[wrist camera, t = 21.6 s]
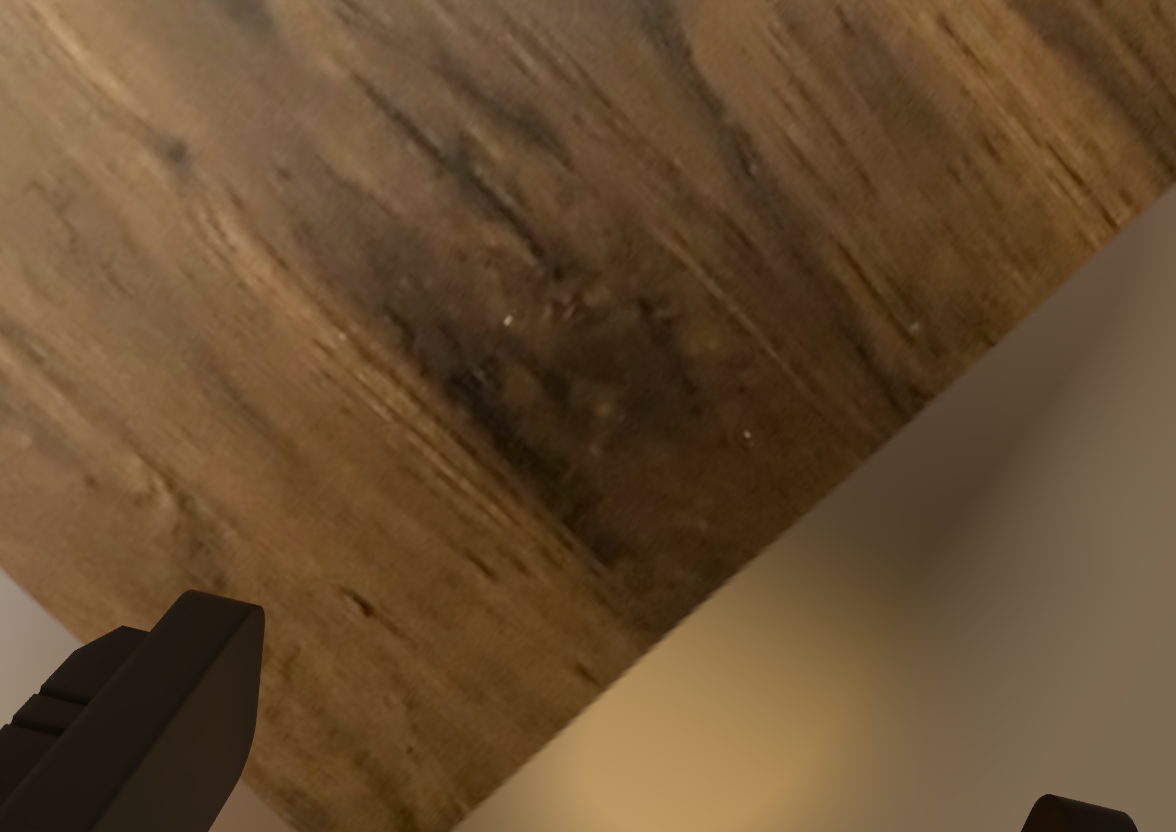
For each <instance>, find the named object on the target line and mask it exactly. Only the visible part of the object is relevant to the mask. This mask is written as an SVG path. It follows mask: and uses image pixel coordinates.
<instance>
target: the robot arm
mask: <svg viewBox="0 0 1176 832" xmlns="http://www.w3.org/2000/svg"><path fill="white" fill-rule="evenodd" d="M264 628H265V615H264V610H263V608H262V607H261V606H259V605H255V604H251V603H246V602H242V601H238V600H234V599H230V598H226V597H222V596H217V595H213V594H209V593H205V592H201V591H197V590H191V589H190V590H188V591H186V592H184V593H183V594H182V595H181V596H180V597H179V598H178V599H177V601H176V602H175V603H174V604H173V605H172V606H171V608H170V609H169V610H168V611H167V612H166V614H165V615H164V616H163V617H162V618H161V619H160V621H159V622H158V623H157V624H156V625H155V626H154V628H153V629H152V630H151V631H150V632H147V631H143V630H139V629H135V628H131V627H127V626H121V627H119V628H117V629H115V630H113V631H111V632H109V633H107V634H106V635H104V636H102V637H100V638H98V639H96V640H94V641H92V642H90V643H89V644H87V645H85V646H83V647H81V648H79V649H77V650H75V651H74V652H73V653H72V654H71V655H70V656H69V657H68V658H67V659H66V661H65V662H64V663H63V664H62V665H61V666H60V667H59V668H58V669H57V670H56V671H55V672H54V673H53V674H52V675H51V676H50V677H49V678H48V680H47V681H46V682H45V683H44V684H43V685H42V686H41V690H40V692H39V694H34V695H32V697H31V698H30V699H29V700H28V701H27V702H26V703H25V704H24V705H23V706H22V707H21V708H20V709H19V710H18V711H17V713H16V714H15V715H14V716H13V720H12V722H11V724H10V725H9V724H6V725H4V726H3V727H2V729H1V730H0V832H208V831H209V829H210V827H211V826H212V824H213V822H214V821H215V819H216V817H217V816H218V814H219V812H220V811H221V809H222V807H223V805H224V804H225V802H226V801H227V799H228V797H229V796H230V794H231V792H232V791H233V789H234V787H235V785H236V784H237V782H238V780H239V778H240V775H241V773H242V771H243V768H244V766H245V763H246V761H247V758H248V755H249V752H250V748H251V745H252V741H253V737H254V732H255V726H256V718H257V707H258V695H259V684H260V673H261V662H262V650H263V639H264ZM1021 832H1138V830H1137V828H1136V826H1135V824H1134V822H1133V820H1132V819H1131V818H1130V817H1129V816H1128V815H1127V814H1126V813H1124V812H1121V811H1118V810H1114V809H1109V808H1105V807H1101V806H1097V805H1093V804H1088V803H1085V802H1080V801H1076V800H1072V799H1068V798H1064V797H1059V796H1055V795H1051V794H1046V795H1044V796H1042V797H1041V798H1039V799H1038V800H1037V802H1036V803H1035V804H1034V806H1033V808H1032V810H1031V812H1030V814H1029V816H1028V818H1027V820H1026V822H1025V824H1024V827H1023V828H1022V831H1021Z"/></svg>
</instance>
